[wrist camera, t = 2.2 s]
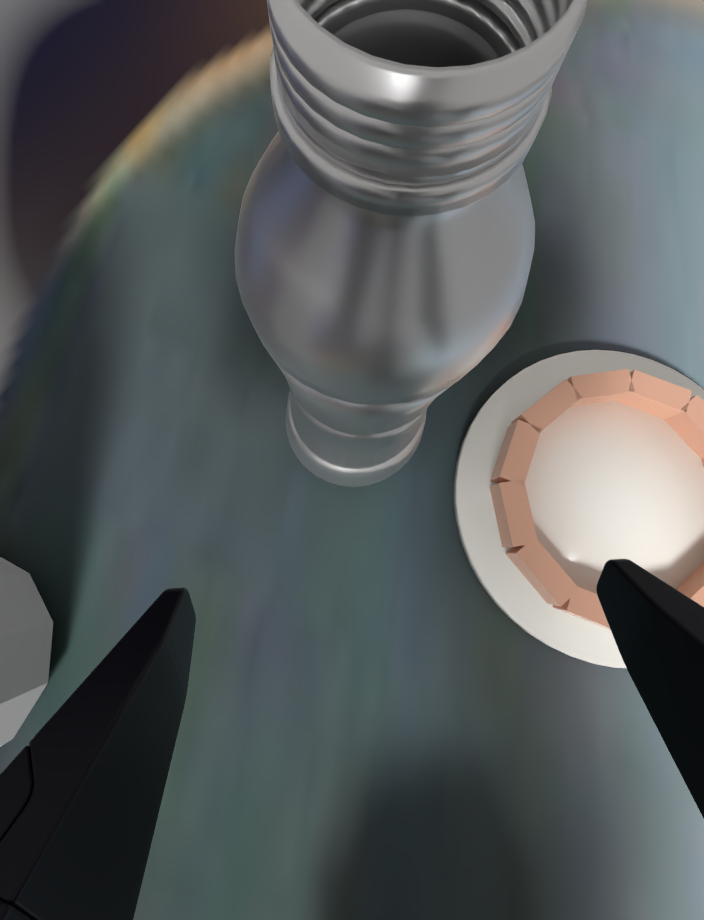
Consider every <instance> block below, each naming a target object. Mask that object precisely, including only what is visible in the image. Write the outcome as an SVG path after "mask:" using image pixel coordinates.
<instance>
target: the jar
mask: <svg viewBox="0 0 704 920" xmlns="http://www.w3.org/2000/svg"><path fill="white" fill-rule="evenodd" d="M52 632H53V621H52V619H51V617H50V615H49V612H48V610H47V608H46V606H45V604H44V602H43V600H42V598H41V596H40V594H39V592H38V590H37V588H36V586H35V584H34V582H33V580H32V578H31V576H30V574H29V573H28V572H26V571H24V570H23V569H21V568H19V567H17V566H16V565H14V564H12V563H10V562H9V561H7V560H5V559H3V558H2V557H0V747H1V746H2V745H4V744H5V743H7V742H9V741H10V740H12V739H13V738H14V736H15V735H16V733H17V732H18V730H19V728H20V727H21V725H22V724H23V722H24V720H25V719H26V717H27V716H28V714H29V712H30V711H31V709H32V708H33V706H34V704H35V703H36V701H37V700H38V698H39V696H40V695H41V693H42V692H43V690H44V688H45V687H46V685H47V684H48V678H49V666H50V655H51V644H52Z"/></svg>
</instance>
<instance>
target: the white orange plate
mask: <svg viewBox="0 0 704 920" xmlns="http://www.w3.org/2000/svg"><path fill="white" fill-rule="evenodd" d="M454 510H455V518H456V525H457V528H458V532H459V536H460V540H461V544H462V546H463V549H464V551H465V554H466V556H467V559H468V561H469V564H470V566H471V567H472V569H473V571H474V573H475V575H476V577H477V578H478V580H479V582H480V584H481V585H482V586H483V588H484V589H485V591H486V592H487V593H488V595H489V596H490V597H491V599H492V600H493V601H494V603H495V604H496V605H497V606H498V607H499V608H500V609H501V610H502V611H503V612H504V613H505V614H506V615H507V617H508V618H510V619H511V620H512V621H513V622H514V623H516V624H517V625H518V626H519V627H520V628H522V629H523V630H524V631H525V632H527V633H528V634H530V635H531V636H533V637H534V638H536V639H537V640H539V641H541V642H542V643H544V644H546V645H548V646H550V647H552V648H554V649H556V650H558V651H560V652H562V653H565V654H567V655H569V656H571V657H574V658H577V659H580V660H584V661H587V662H590V663H593V664H598V665H603V666H609V667H614V668H626V666H625V664H624V661H623V659H622V657H621V654H620V652H619V650H618V647H617V645H616V642H615V639H614V637H613V634H612V632H611V629H610V627H609V624H608V622H607V619H606V616H605V614H604V611H603V609H602V606H601V604H600V601H599V599H598V596H597V591H596V587H597V583H598V580H599V578H600V575H601V573H602V570H603V568H604V565H605V563H606V562H607V561H608V560H611V559H628V560H631V561H632V562H634V563H636V564H637V565H639V566H640V567H642V568H643V569H645V570H647V571H648V572H650V573H651V574H653V575H654V576H656V577H657V578H659V579H661V580H662V581H664V582H665V583H667V584H668V585H670V586H672V587H673V588H675V589H676V590H678V591H679V592H681V593H683V594H684V595H686V596H687V597H689V598H690V599H692V600H693V601H695V602H697V603H698V604H700V605H701V606H703V607H704V389H702V388H701V387H700V386H698V385H697V384H696V383H694V382H693V381H692V380H690V379H689V378H687V377H685V376H684V375H682V374H680V373H679V372H677V371H675V370H673V369H672V368H670V367H667V366H665V365H663V364H660V363H658V362H656V361H654V360H651V359H647V358H644V357H641V356H638V355H634V354H629V353H624V352H618V351H608V350H585V351H574V352H569V353H564V354H559V355H556V356H553V357H550V358H547V359H544V360H541V361H539V362H537V363H535V364H533V365H531V366H529V367H527V368H525V369H523V370H522V371H520V372H519V373H518V374H516V375H515V376H513V377H512V378H510V379H509V380H508V381H507V382H506V383H504V384H503V385H502V386H501V387H500V388H499V389H498V390H497V391H496V392H495V393H494V394H493V395H492V396H491V397H490V398H489V399H488V400H487V401H486V403H485V404H484V405H483V406H482V408H481V409H480V410H479V411H478V413H477V415H476V416H475V418H474V419H473V421H472V423H471V424H470V426H469V428H468V430H467V433H466V435H465V437H464V440H463V442H462V444H461V448H460V451H459V455H458V458H457V462H456V469H455V476H454Z"/></svg>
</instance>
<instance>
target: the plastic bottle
mask: <svg viewBox="0 0 704 920" xmlns="http://www.w3.org/2000/svg"><path fill="white" fill-rule="evenodd" d="M587 3H588V0H267V4H268V11H269V20H270V27H271V34H272V41H273V49H272V55H271V60H270V81H271V93H272V100H273V107H274V114H275V119H276V123H277V126H278V129H279V131H278V133H277V134H276V136H275V137H274V139H273V140H272V142H271V143H270V145H269V147H268V148H267V150H266V152H265V153H264V155H263V157H262V158H261V160H260V162H259V163H258V165H257V167H256V168H255V170H254V172H253V174H252V176H251V179H250V181H249V183H248V186H247V188H246V191H245V193H244V196H243V199H242V205H241V211H240V217H239V222H238V230H237V238H236V246H235V270H236V281H237V285H238V288H239V292H240V296H241V300H242V303H243V306H244V308H245V310H246V312H247V314H248V316H249V318H250V320H251V323H252V325H253V327H254V329H255V330H256V332H257V334H258V336H259V338H260V340H261V342H262V344H263V346H264V347H265V349H266V350H267V351H268V353H269V354H270V356H271V357H272V358H273V360H274V361H275V363H276V364H277V366H278V367H279V368H280V370H281V371H282V373H283V374H284V376H285V377H286V380H287V383H288V385H289V387H290V393H289V396H288V402H287V409H286V432H287V435H288V439H289V443H290V445H291V447H292V449H293V451H294V453H295V455H296V457H297V458H298V459H299V461H300V462H301V463H302V464H303V466H304V467H305V468H306V469H308V470H309V471H310V472H311V473H313V474H314V475H315V476H317V477H319V478H321V479H322V480H324V481H326V482H329V483H332V484H336V485H339V486H348V487H359V486H368V485H372V484H375V483H378V482H381V481H383V480H385V479H387V478H388V477H390V476H392V475H394V474H395V473H396V472H398V471H399V470H400V469H401V468H402V467H403V466H405V465H406V463H407V462H408V461H409V460H410V458H411V457H412V456H413V454H414V453H415V451H416V449H417V447H418V445H419V443H420V440H421V437H422V433H423V430H424V426H425V422H426V411H427V408H428V406H429V405H430V404H431V403H432V401H433V400H434V399H435V398H436V397H437V396H439V395H440V394H441V393H443V392H444V391H445V390H447V389H448V388H449V387H450V386H452V385H453V384H454V383H456V382H458V381H459V380H460V379H461V378H462V377H464V376H465V375H466V374H467V373H468V372H469V371H471V370H472V369H473V368H474V367H475V366H477V365H478V364H479V363H480V362H481V361H482V359H483V358H484V357H485V356H486V355H487V354H488V353H489V352H490V351H491V350H492V349H493V348H494V347H495V346H496V344H497V343H498V342H499V341H500V339H501V338H502V337H503V335H504V334H505V333H506V332H507V330H508V329H509V328H510V326H511V324H512V322H513V320H514V318H515V316H516V314H517V312H518V310H519V308H520V306H521V304H522V300H523V296H524V292H525V288H526V284H527V280H528V276H529V272H530V267H531V262H532V258H533V253H534V246H535V219H534V214H533V209H532V203H531V198H530V194H529V189H528V185H527V181H526V177H525V173H524V168H523V165H522V163H523V161H524V159H525V157H526V155H527V153H528V151H529V150H530V148H531V146H532V144H533V142H534V140H535V138H536V136H537V134H538V131H539V129H540V127H541V125H542V123H543V121H544V119H545V117H546V114H547V110H548V106H549V102H550V99H551V95H552V84H553V82H554V80H555V77H556V75H557V73H558V71H559V69H560V67H561V64H562V62H563V60H564V58H565V56H566V54H567V52H568V49H569V47H570V45H571V43H572V41H573V39H574V36H575V34H576V32H577V30H578V28H579V26H580V24H581V22H582V20H583V17H584V14H585V11H586V7H587Z"/></svg>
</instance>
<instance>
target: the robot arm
mask: <svg viewBox="0 0 704 920" xmlns="http://www.w3.org/2000/svg"><path fill="white" fill-rule="evenodd" d="M596 591H597V596H598V599H599V601H600V604H601V606H602V609H603V611H604V614H605V616H606V619H607V622H608V624H609V627H610V629H611V632H612V634H613V637H614V639H615V642H616V645H617V647H618V650H619V652H620V654H621V657H622V659H623V661H624V664H625V666H626V668H627V670H628V672H629V674H630V676H631V678H632V680H633V682H634V684H635V686H636V687H637V689H638V691H639V693H640V695H641V697H642V699H643V701H644V703H645V705H646V707H647V709H648V711H649V713H650V715H651V717H652V719H653V721H654V723H655V724H656V726H657V728H658V730H659V732H660V734H661V736H662V738H663V740H664V742H665V744H666V746H667V748H668V750H669V752H670V754H671V756H672V758H673V760H674V762H675V763H676V765H677V767H678V769H679V771H680V773H681V775H682V777H683V779H684V781H685V783H686V785H687V787H688V789H689V791H690V793H691V795H692V797H693V799H694V800H695V802H696V804H697V806H698V808H699V810H700V812H701V814H702V816H703V818H704V607H703V606H701V605H700V604H698V603H697V602H695V601H693V600H692V599H690V598H689V597H687V596H686V595H684V594H683V593H681V592H679V591H678V590H676V589H675V588H673V587H672V586H670V585H668V584H667V583H665V582H664V581H662V580H661V579H659V578H657V577H656V576H654V575H653V574H651V573H650V572H648V571H647V570H645V569H643V568H642V567H640V566H639V565H637V564H636V563H634V562H632V561H631V560H628V559H611V560H608V561H607V562H606V563H605V565H604V568H603V570H602V573H601V575H600V578H599V580H598V583H597V587H596ZM195 623H196V617H195V611H194V608H193V605H192V602H191V599H190V595H189V592H188V590H187V589H186V588H173V589H167V590H165V591H164V592H163V593H162V594H161V595H160V596H159V597H158V598H157V600H156V601H155V602H154V603H153V604H152V605H151V606H150V607H149V608H148V610H147V611H146V612H145V613H144V614H143V615H142V616H141V617H140V619H139V620H138V621H137V622H136V623H135V624H134V625H133V626H132V628H131V629H130V630H129V631H128V632H127V633H126V634H125V635H124V637H123V638H122V639H121V640H120V641H119V642H118V643H117V644H116V646H115V647H114V648H113V649H112V650H111V651H110V652H109V653H108V655H107V656H106V657H105V658H104V659H103V660H102V661H101V662H100V663H99V665H98V666H97V667H96V668H95V669H94V670H93V671H92V672H91V674H90V675H89V676H88V677H87V678H86V679H85V680H84V681H83V683H82V684H81V685H80V686H79V687H78V688H77V689H76V690H75V692H74V693H73V694H72V695H71V696H70V697H69V698H68V699H67V701H66V702H65V703H64V704H63V705H62V706H61V707H60V708H59V710H58V711H57V712H56V713H55V714H54V715H53V716H52V717H51V718H50V720H49V721H48V722H47V723H46V724H45V725H44V726H43V727H42V729H41V730H40V731H39V732H38V733H37V734H36V735H35V736H34V738H33V739H32V740H31V741H30V743H29V746H26V747H24V749H23V750H22V751H21V752H20V753H19V754H18V755H17V756H16V758H15V759H14V760H13V761H12V762H11V763H10V764H9V765H8V767H7V768H6V769H5V770H4V771H3V772H2V773H1V774H0V920H133V918H134V913H135V909H136V905H137V901H138V897H139V893H140V888H141V884H142V880H143V876H144V872H145V868H146V863H147V859H148V855H149V851H150V847H151V843H152V838H153V834H154V830H155V826H156V822H157V817H158V813H159V809H160V805H161V801H162V797H163V792H164V788H165V784H166V780H167V776H168V772H169V767H170V763H171V759H172V755H173V751H174V747H175V742H176V738H177V734H178V730H179V726H180V721H181V717H182V713H183V709H184V704H185V700H186V694H187V687H188V680H189V672H190V664H191V656H192V648H193V640H194V632H195Z"/></svg>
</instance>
